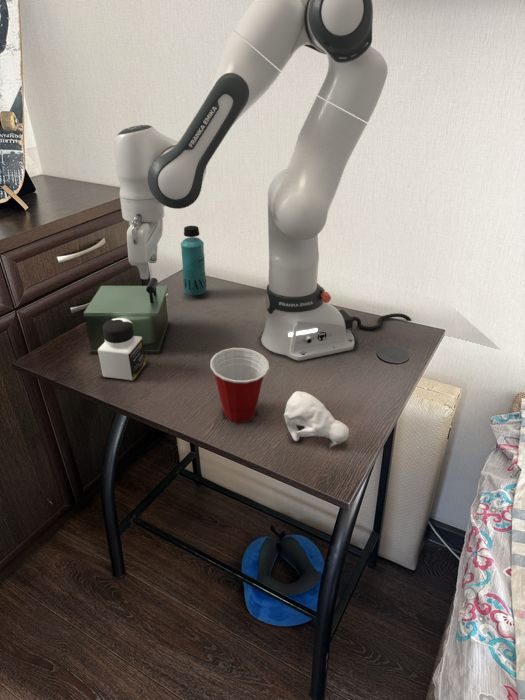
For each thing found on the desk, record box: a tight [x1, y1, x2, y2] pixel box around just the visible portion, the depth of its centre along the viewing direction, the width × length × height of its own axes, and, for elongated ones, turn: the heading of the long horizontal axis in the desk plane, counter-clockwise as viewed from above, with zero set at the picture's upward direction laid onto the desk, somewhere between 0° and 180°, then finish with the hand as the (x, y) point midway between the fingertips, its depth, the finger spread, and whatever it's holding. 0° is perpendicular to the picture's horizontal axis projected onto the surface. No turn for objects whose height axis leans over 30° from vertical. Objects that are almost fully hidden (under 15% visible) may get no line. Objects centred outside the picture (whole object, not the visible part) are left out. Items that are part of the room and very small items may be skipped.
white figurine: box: [283, 390, 350, 448], centre depth 90 cm, size 6×8×12 cm
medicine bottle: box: [97, 318, 147, 381], centre depth 107 cm, size 7×7×12 cm
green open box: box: [83, 295, 169, 354], centre depth 120 cm, size 16×15×10 cm
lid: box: [83, 277, 169, 316], centre depth 116 cm, size 16×15×5 cm
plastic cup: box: [210, 347, 270, 423], centre depth 94 cm, size 11×11×12 cm
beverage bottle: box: [180, 225, 207, 296], centre depth 138 cm, size 6×7×20 cm
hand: (149, 269), depth 113 cm, fingers open, 8 cm apart
